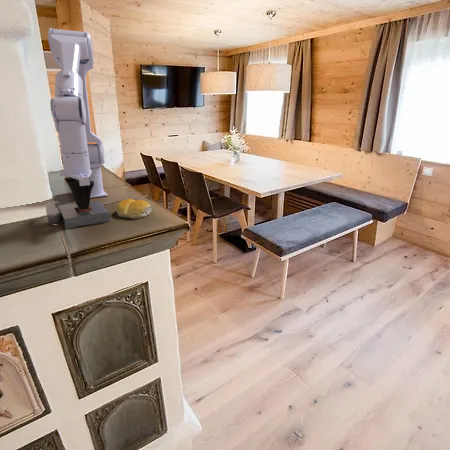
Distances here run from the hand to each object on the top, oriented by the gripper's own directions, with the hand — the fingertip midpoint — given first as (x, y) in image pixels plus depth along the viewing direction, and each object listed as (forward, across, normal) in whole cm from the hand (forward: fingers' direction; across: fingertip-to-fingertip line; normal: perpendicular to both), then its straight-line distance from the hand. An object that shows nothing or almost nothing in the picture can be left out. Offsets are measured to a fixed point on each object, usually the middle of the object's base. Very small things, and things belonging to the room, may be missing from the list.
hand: (82, 207), depth 77 cm
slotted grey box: (+3, 0, -1) cm, 3 cm away
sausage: (+2, 0, 0) cm, 2 cm away
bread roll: (+3, +2, +12) cm, 13 cm away
